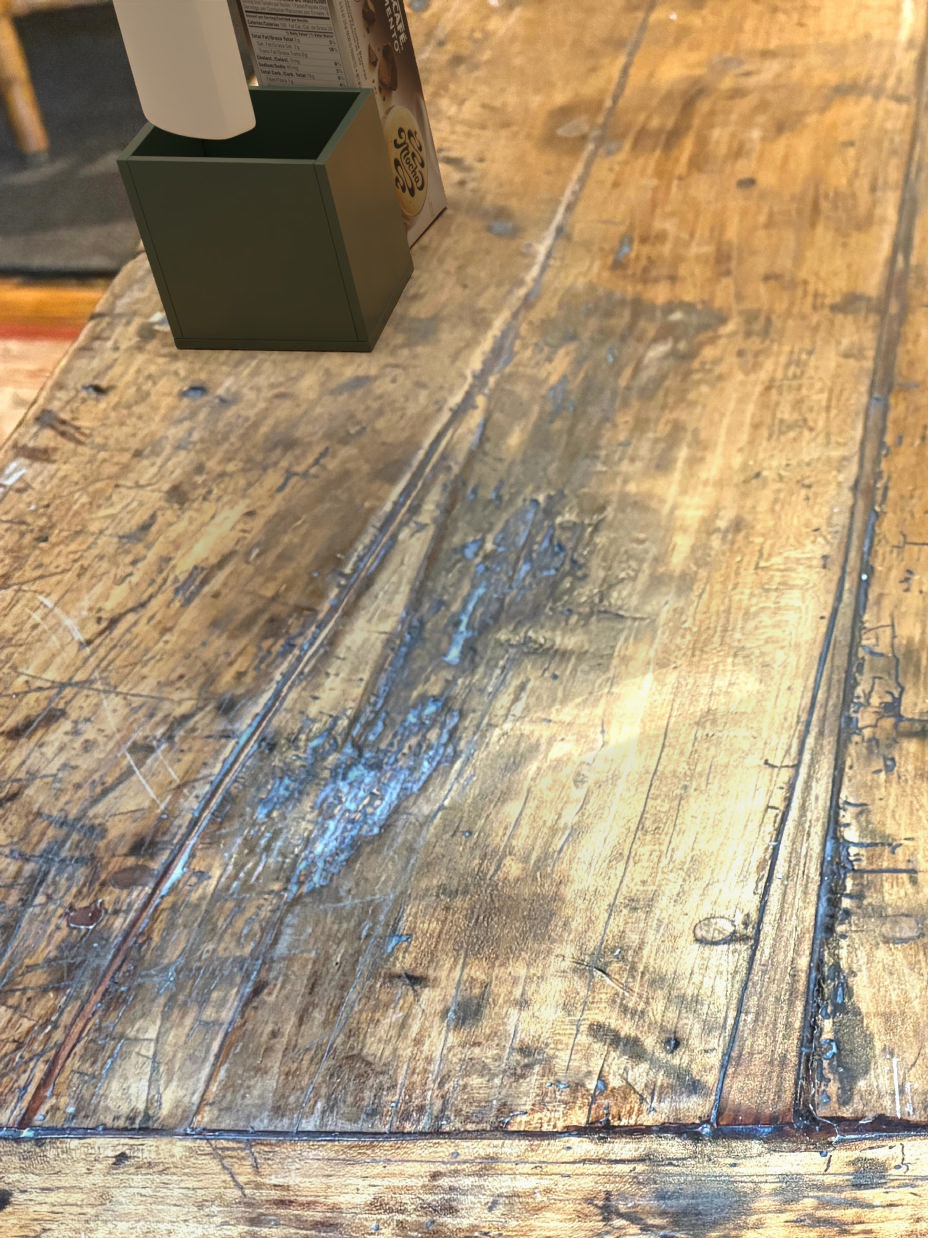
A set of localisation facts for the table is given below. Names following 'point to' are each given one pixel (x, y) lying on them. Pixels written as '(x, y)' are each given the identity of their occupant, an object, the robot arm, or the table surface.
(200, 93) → the eye dropper bottle
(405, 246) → the trash can
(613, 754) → the table surface
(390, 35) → the coffee box
